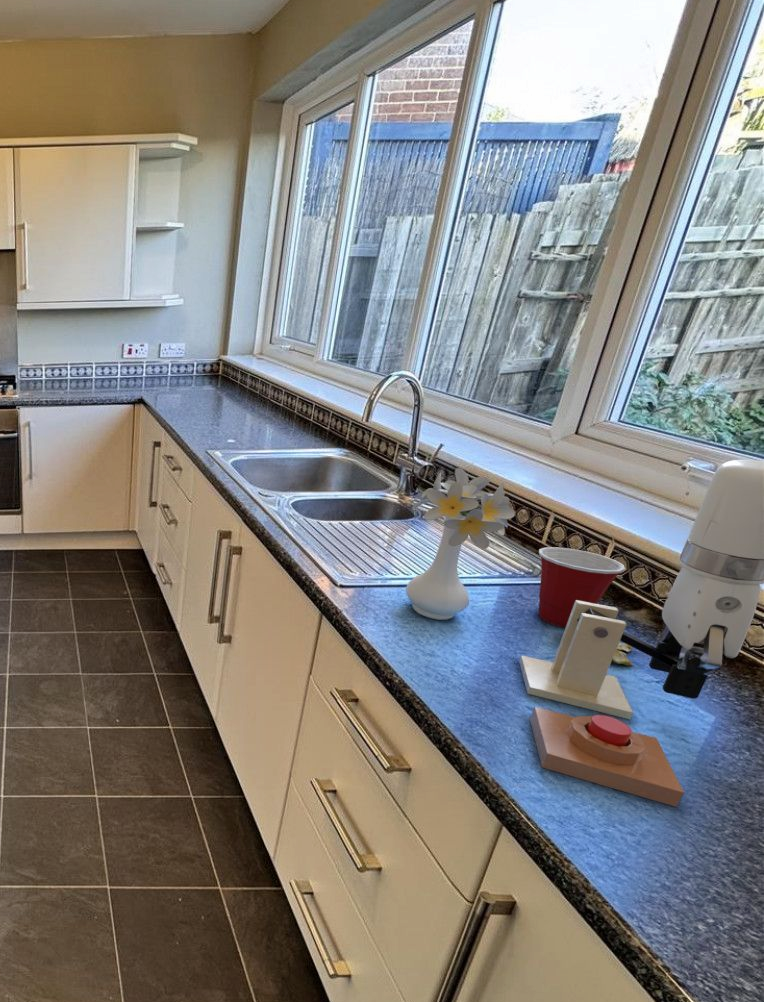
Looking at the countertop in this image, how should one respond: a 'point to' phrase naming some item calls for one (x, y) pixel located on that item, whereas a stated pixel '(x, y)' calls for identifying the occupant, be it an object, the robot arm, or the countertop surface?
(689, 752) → the countertop surface
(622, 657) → the fruit
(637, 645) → the black t-handle lever
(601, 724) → the red button
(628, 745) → the control block
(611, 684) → the lever bracket
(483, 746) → the countertop surface
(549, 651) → the countertop surface
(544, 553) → the plastic cup
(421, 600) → the flower vase
